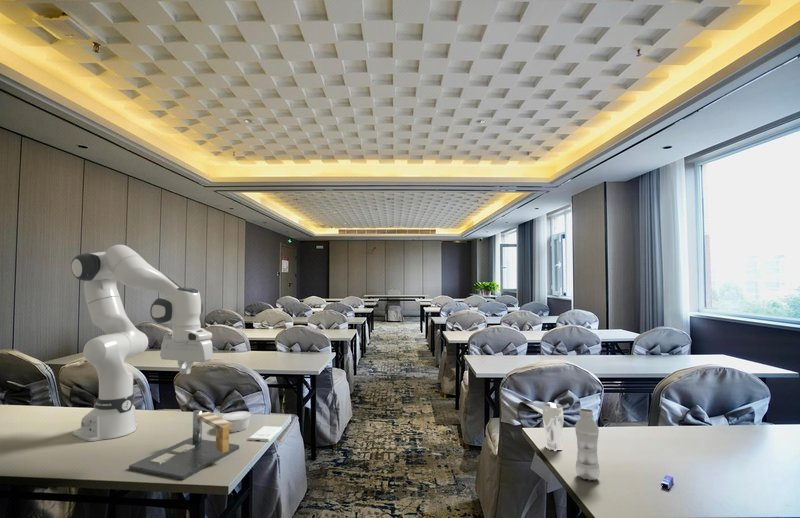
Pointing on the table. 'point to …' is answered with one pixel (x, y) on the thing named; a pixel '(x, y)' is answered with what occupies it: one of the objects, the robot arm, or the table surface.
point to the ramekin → (238, 420)
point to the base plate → (183, 456)
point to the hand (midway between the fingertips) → (185, 373)
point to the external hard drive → (265, 433)
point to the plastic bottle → (587, 446)
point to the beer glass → (553, 425)
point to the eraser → (667, 481)
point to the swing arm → (218, 429)
